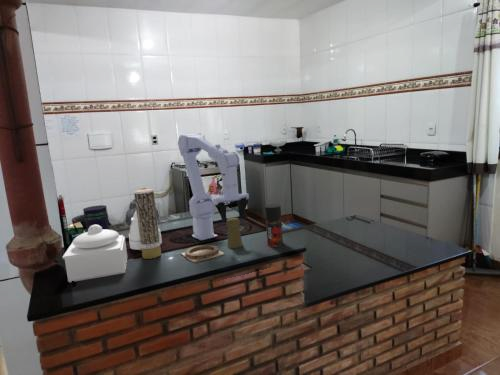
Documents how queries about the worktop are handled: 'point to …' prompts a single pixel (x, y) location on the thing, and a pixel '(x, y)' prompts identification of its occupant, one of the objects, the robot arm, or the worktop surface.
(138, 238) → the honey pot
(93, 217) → the storage jar
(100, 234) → the butter dish
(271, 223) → the deodorant
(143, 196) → the wooden log
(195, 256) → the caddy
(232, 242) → the khaki cylinder
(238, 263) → the worktop surface
